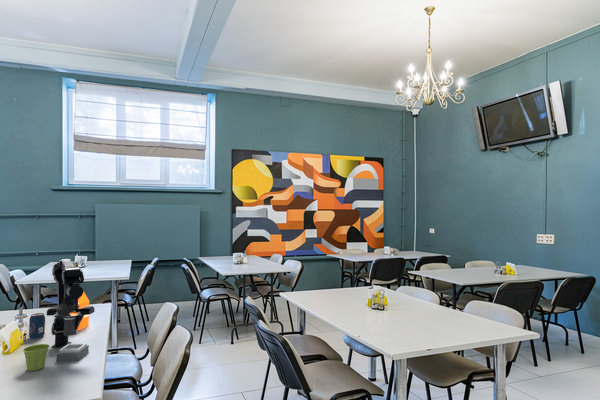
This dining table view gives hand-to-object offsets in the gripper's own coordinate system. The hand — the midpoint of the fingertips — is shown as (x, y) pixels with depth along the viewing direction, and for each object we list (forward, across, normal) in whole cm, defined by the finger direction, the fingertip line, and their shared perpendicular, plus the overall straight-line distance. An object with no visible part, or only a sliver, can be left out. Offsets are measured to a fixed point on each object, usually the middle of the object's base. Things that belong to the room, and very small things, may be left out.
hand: (70, 329), depth 177 cm
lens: (+2, 0, 0) cm, 2 cm away
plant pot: (+13, -8, -12) cm, 19 cm away
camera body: (+12, +2, 0) cm, 12 cm away
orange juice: (+12, -19, +48) cm, 52 cm away
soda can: (+12, -31, +30) cm, 45 cm away
